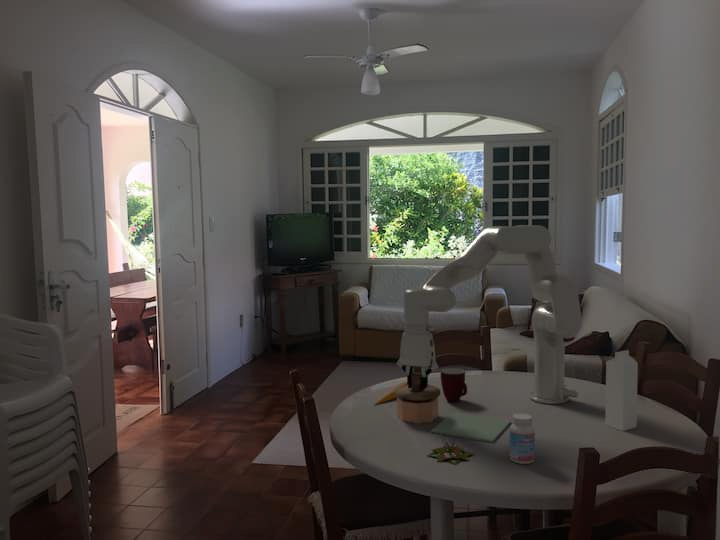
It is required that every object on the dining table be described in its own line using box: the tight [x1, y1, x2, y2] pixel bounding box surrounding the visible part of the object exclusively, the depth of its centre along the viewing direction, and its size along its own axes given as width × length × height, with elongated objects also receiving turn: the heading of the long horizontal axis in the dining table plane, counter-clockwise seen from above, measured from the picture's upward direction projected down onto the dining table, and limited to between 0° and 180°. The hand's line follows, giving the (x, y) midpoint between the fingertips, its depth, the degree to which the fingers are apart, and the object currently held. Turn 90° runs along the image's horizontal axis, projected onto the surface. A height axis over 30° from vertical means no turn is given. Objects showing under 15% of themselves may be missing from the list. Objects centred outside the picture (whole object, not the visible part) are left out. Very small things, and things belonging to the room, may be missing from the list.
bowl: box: [396, 397, 439, 424], centre depth 184 cm, size 12×12×6 cm
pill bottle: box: [509, 413, 536, 465], centre depth 149 cm, size 6×6×11 cm
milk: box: [604, 349, 639, 432], centre depth 172 cm, size 6×6×22 cm
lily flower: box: [426, 438, 475, 466], centre depth 153 cm, size 12×12×5 cm
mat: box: [430, 411, 512, 443], centre depth 174 cm, size 18×18×1 cm
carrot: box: [373, 381, 408, 406], centre depth 204 cm, size 20×4×4 cm, turn 138°
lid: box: [394, 372, 441, 400], centre depth 183 cm, size 14×14×6 cm
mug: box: [440, 367, 468, 403], centre depth 199 cm, size 10×8×10 cm
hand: (417, 387), depth 184 cm, fingers closed on lid, 3 cm apart
